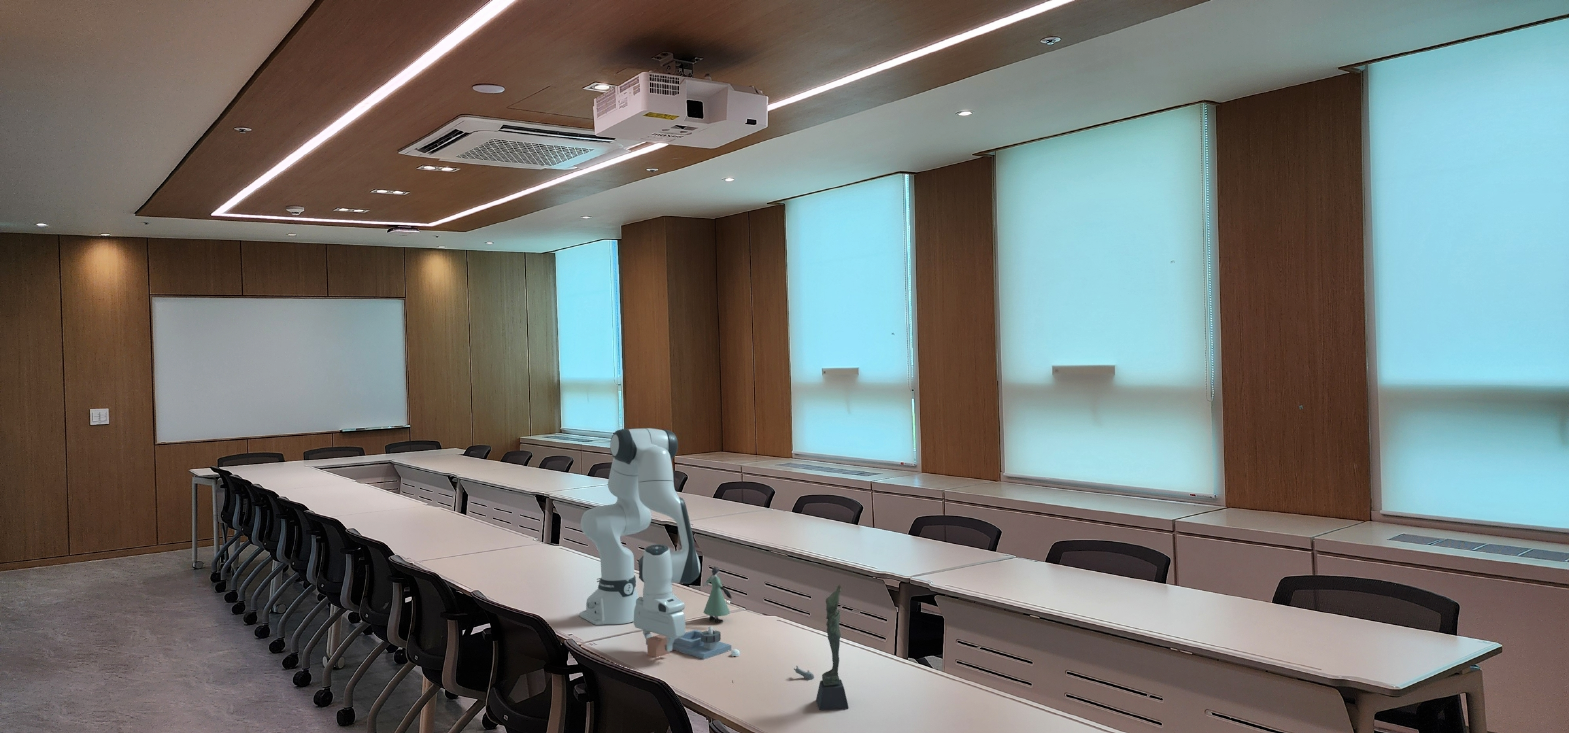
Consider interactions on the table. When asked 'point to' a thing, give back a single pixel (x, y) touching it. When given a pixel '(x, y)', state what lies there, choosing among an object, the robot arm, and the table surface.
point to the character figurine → (716, 598)
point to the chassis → (699, 645)
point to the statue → (830, 685)
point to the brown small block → (657, 646)
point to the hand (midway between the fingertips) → (659, 647)
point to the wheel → (710, 636)
